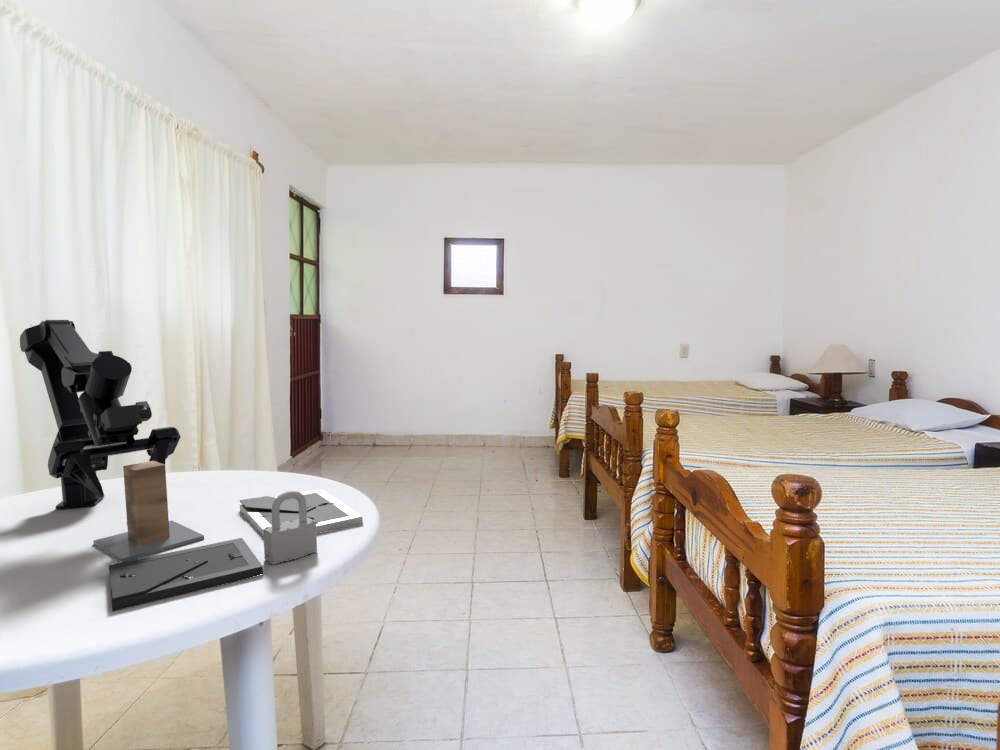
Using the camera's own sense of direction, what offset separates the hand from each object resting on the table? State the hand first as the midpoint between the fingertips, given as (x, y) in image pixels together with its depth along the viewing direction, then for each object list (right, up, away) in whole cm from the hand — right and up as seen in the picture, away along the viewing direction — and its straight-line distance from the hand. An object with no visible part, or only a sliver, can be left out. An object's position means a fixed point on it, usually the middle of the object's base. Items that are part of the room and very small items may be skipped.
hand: (133, 489), depth 99 cm
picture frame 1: (+17, -10, -15) cm, 25 cm away
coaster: (+4, -8, -3) cm, 9 cm away
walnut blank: (+4, -7, -3) cm, 9 cm away
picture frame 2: (+25, -8, +9) cm, 27 cm away
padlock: (+29, -9, -9) cm, 32 cm away
